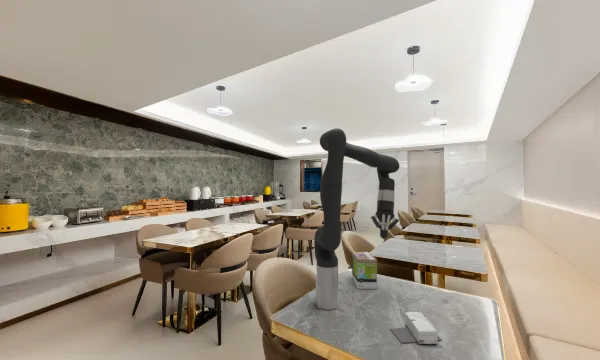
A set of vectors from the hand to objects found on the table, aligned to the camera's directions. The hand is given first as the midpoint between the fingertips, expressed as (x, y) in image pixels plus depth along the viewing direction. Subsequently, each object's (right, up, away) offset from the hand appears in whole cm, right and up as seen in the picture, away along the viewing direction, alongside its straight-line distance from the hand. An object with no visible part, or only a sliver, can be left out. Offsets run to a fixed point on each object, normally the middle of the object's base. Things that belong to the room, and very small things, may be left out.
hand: (383, 238), depth 117 cm
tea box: (-5, -28, +17) cm, 33 cm away
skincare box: (+3, -24, -22) cm, 33 cm away
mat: (+1, -27, -29) cm, 39 cm away
